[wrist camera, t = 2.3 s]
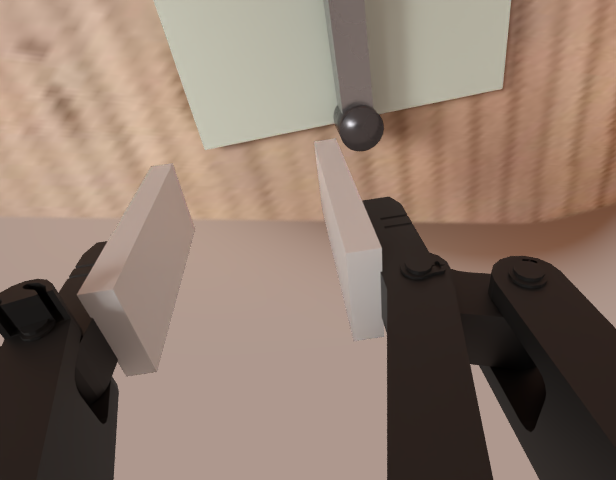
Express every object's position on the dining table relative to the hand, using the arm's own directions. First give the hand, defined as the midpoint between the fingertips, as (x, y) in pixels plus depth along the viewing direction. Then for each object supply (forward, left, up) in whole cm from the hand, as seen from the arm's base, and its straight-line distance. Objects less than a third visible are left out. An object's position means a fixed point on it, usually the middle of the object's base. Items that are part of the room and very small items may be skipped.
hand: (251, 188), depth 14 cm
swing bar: (-2, +6, -15) cm, 17 cm away
